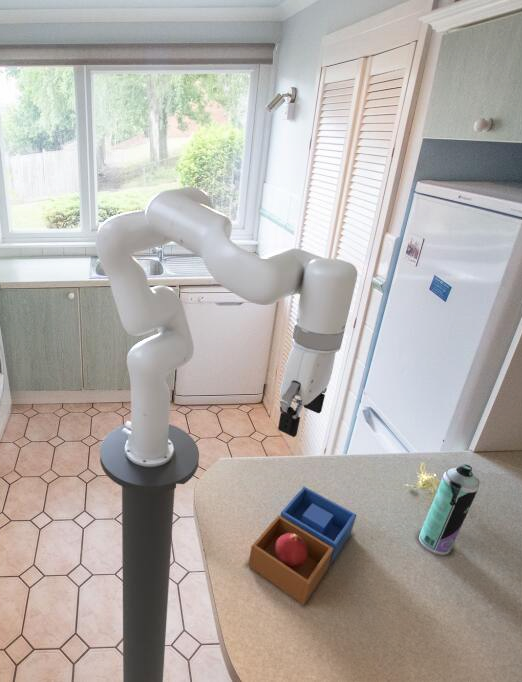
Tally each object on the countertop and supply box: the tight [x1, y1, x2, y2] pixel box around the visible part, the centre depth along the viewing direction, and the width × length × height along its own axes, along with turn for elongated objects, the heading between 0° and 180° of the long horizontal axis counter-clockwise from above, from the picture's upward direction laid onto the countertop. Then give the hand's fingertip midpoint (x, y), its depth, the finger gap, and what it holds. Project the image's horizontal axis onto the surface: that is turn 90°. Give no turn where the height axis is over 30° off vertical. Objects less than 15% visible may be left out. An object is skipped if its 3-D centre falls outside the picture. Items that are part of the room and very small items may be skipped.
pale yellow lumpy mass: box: [403, 458, 442, 505], centre depth 100 cm, size 11×15×9 cm
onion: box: [275, 533, 308, 568], centre depth 85 cm, size 6×6×8 cm
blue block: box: [301, 503, 334, 536], centre depth 92 cm, size 4×4×4 cm
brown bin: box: [247, 514, 334, 606], centre depth 85 cm, size 11×10×6 cm
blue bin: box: [279, 486, 357, 566], centre depth 92 cm, size 11×10×6 cm
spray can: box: [418, 464, 481, 556], centre depth 87 cm, size 6×6×20 cm
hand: (299, 421), depth 81 cm, fingers open, 9 cm apart
